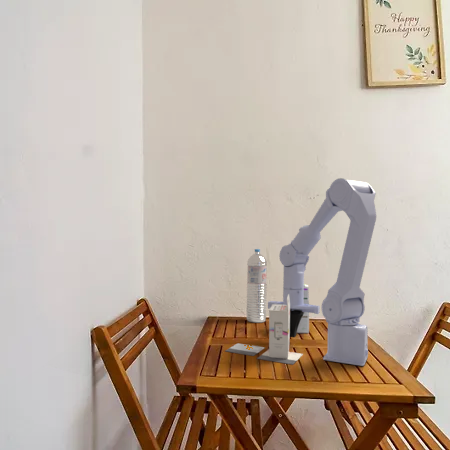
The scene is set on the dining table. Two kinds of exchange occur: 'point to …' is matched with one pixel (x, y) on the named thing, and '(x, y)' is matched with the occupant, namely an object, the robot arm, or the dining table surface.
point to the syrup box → (304, 321)
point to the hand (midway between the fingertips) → (292, 336)
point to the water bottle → (256, 288)
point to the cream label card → (291, 358)
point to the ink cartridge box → (279, 330)
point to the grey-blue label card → (242, 349)
